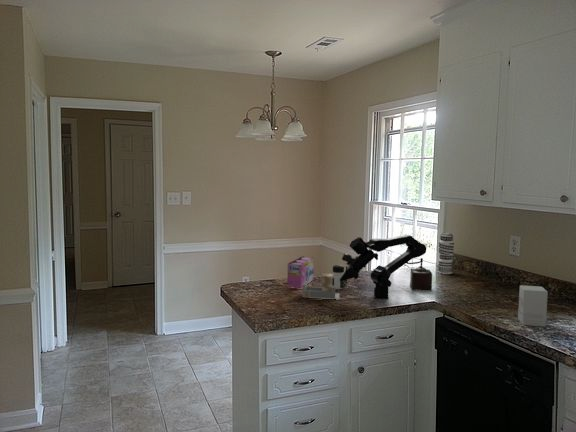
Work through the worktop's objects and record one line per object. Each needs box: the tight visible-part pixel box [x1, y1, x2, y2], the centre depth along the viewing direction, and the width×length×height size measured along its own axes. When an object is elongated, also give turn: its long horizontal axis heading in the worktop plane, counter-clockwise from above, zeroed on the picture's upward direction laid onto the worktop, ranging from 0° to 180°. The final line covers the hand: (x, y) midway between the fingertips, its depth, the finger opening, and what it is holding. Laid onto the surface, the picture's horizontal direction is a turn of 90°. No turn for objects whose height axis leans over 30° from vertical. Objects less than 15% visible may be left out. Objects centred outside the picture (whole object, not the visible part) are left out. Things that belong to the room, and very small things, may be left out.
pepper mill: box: [406, 257, 433, 291], centre depth 253 cm, size 16×11×18 cm
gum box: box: [286, 256, 315, 289], centre depth 258 cm, size 24×8×14 cm, turn 159°
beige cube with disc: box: [321, 273, 334, 291], centre depth 232 cm, size 6×6×10 cm
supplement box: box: [517, 285, 549, 328], centre depth 196 cm, size 9×9×15 cm
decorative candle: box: [437, 232, 455, 275], centre depth 291 cm, size 9×9×25 cm
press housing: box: [301, 281, 340, 301], centre depth 233 cm, size 18×10×7 cm, turn 83°
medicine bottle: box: [332, 264, 348, 290], centre depth 251 cm, size 7×7×12 cm
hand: (340, 280), depth 231 cm, fingers closed
